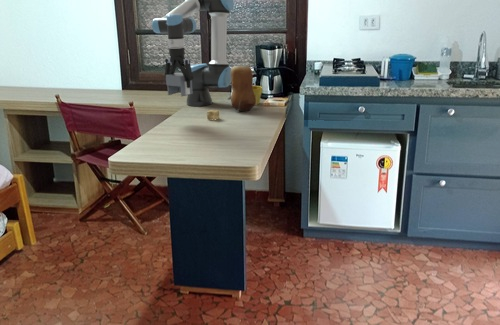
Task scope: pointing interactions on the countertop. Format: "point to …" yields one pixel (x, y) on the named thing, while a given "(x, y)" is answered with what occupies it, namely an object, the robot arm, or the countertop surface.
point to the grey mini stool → (177, 84)
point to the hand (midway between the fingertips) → (180, 93)
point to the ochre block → (213, 114)
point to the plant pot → (257, 93)
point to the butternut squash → (242, 88)
